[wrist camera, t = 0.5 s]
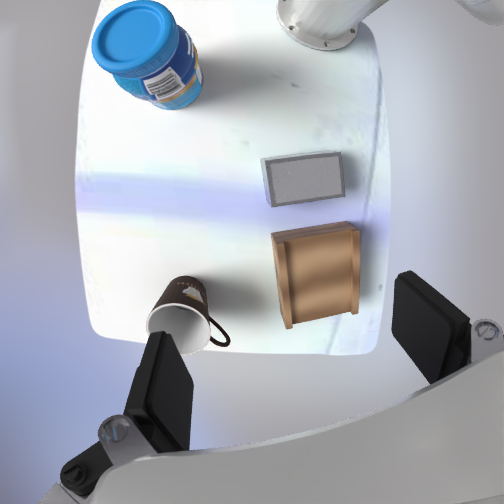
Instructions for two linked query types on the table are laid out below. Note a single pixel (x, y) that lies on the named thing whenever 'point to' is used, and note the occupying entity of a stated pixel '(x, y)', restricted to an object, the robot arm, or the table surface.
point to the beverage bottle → (149, 54)
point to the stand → (317, 271)
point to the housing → (303, 177)
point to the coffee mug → (184, 316)
